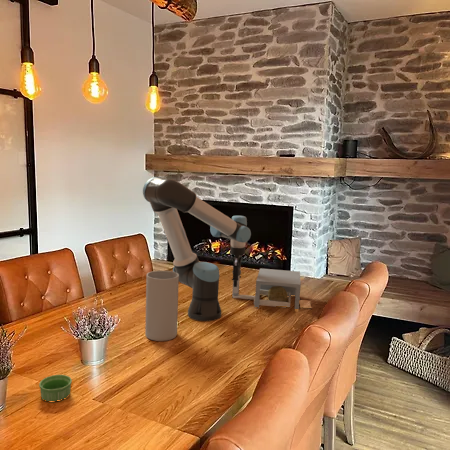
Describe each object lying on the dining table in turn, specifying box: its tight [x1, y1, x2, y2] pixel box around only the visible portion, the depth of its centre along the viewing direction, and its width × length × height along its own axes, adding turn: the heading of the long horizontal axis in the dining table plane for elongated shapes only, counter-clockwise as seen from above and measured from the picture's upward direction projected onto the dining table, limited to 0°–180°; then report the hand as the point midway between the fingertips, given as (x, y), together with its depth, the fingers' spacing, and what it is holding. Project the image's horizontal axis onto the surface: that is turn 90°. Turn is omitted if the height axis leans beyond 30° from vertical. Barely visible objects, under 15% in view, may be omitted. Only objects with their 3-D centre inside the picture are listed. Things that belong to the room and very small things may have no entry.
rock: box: [267, 286, 289, 302], centre depth 227 cm, size 10×11×10 cm
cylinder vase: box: [144, 270, 180, 342], centre depth 178 cm, size 12×12×25 cm
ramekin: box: [38, 374, 73, 402], centre depth 133 cm, size 9×9×4 cm
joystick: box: [232, 268, 292, 308], centre depth 228 cm, size 30×18×15 cm, turn 81°
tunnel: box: [254, 268, 301, 310], centre depth 226 cm, size 28×25×14 cm
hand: (235, 291), depth 230 cm, fingers closed on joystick, 3 cm apart
